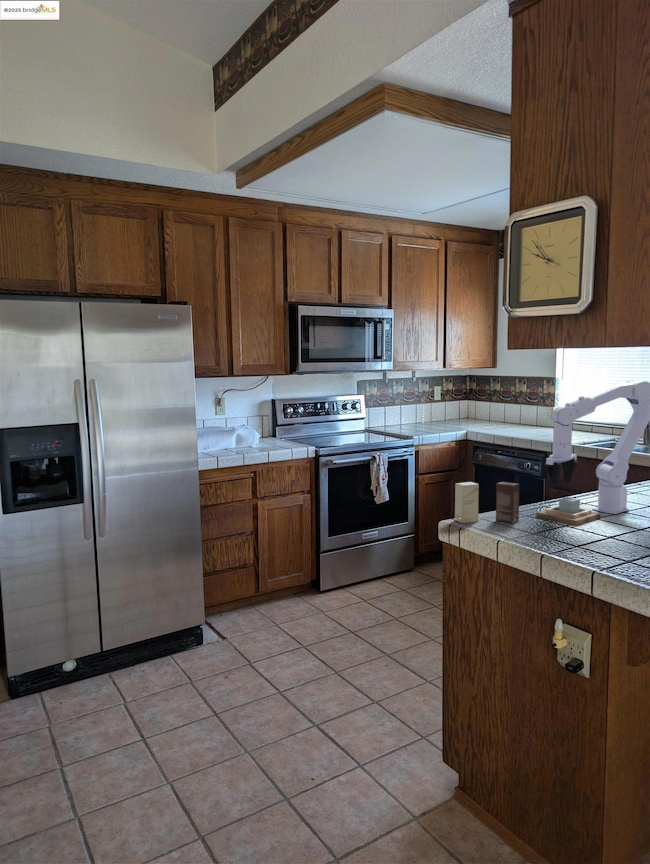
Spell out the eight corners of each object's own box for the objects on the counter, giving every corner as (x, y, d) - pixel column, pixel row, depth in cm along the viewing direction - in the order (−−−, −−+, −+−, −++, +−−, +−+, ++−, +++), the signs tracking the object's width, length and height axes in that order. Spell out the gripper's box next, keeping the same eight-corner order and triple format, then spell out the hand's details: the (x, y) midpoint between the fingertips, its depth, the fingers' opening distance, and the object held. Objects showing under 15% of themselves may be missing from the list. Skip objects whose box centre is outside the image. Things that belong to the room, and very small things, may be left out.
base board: (560, 509, 206) (561, 502, 206) (600, 517, 195) (600, 510, 195) (536, 516, 198) (536, 509, 197) (576, 525, 187) (576, 517, 186)
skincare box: (462, 523, 191) (462, 485, 189) (454, 520, 195) (454, 483, 193) (479, 521, 193) (479, 483, 192) (470, 518, 197) (470, 481, 196)
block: (566, 510, 199) (566, 496, 198) (579, 513, 195) (579, 499, 195) (558, 512, 196) (559, 499, 196) (571, 515, 193) (572, 501, 192)
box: (519, 520, 193) (520, 483, 192) (512, 523, 190) (513, 485, 188) (501, 517, 197) (502, 481, 196) (494, 520, 194) (495, 483, 193)
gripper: (563, 439, 209) (562, 478, 210) (538, 444, 200) (537, 484, 202) (582, 441, 203) (581, 482, 205) (557, 446, 194) (556, 488, 196)
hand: (560, 483), depth 203 cm, fingers open, 7 cm apart
